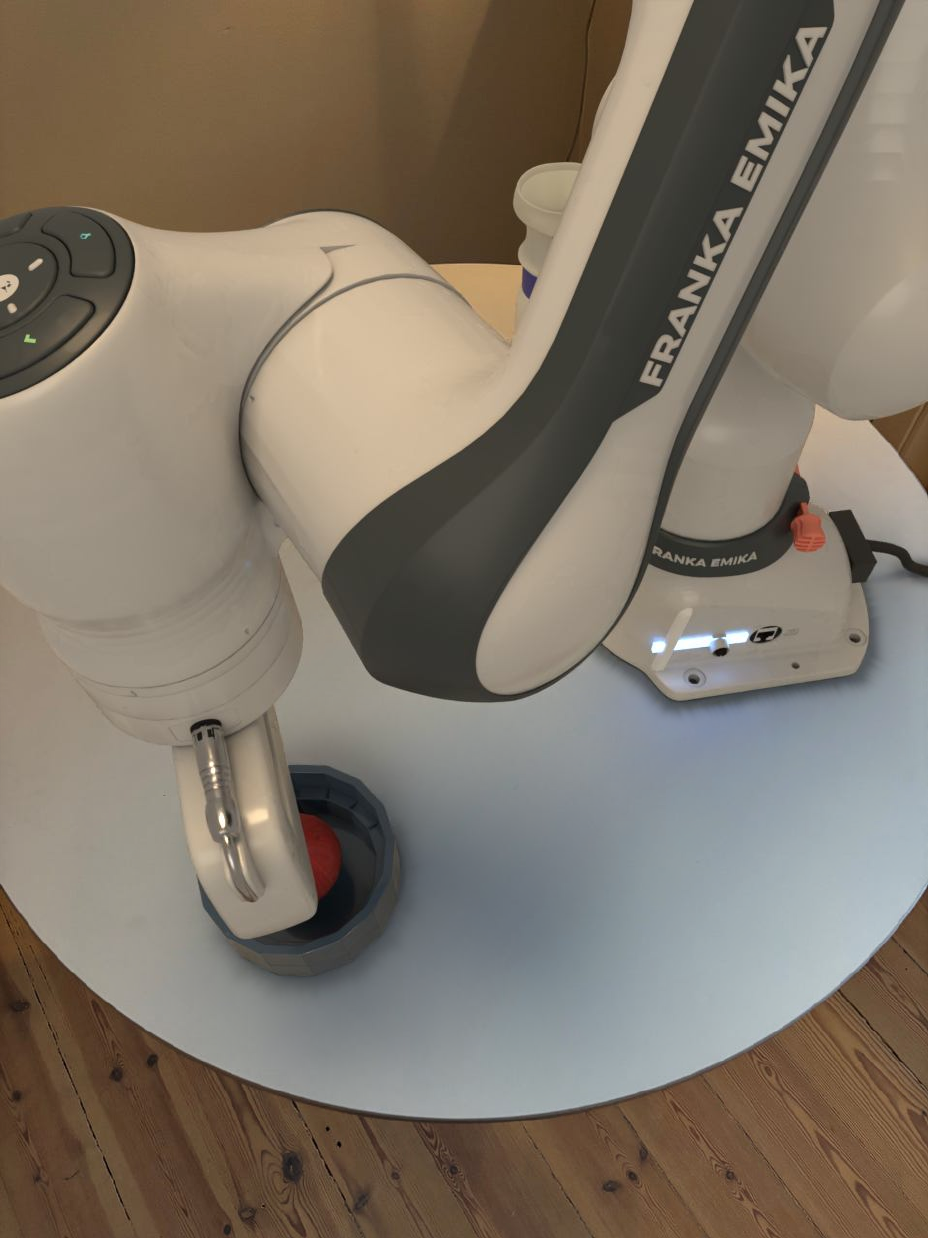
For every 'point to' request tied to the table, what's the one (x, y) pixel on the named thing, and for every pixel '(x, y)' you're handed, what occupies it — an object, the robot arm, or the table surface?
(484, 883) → the table surface
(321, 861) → the red fruit
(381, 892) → the bowl
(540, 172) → the water bottle
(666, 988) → the table surface
